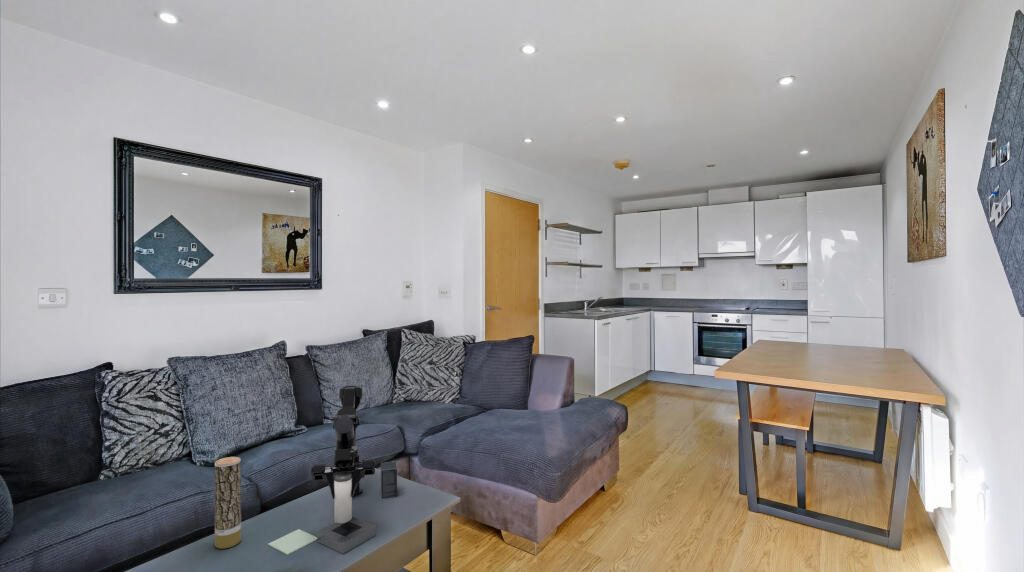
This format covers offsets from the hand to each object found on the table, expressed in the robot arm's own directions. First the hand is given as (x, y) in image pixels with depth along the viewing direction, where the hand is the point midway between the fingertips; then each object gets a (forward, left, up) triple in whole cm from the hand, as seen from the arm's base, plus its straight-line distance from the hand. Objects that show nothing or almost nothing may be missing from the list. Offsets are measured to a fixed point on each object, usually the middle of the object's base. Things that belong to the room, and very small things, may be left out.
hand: (342, 497), depth 142 cm
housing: (0, +2, -13) cm, 14 cm away
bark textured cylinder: (-28, -19, -14) cm, 37 cm away
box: (-13, +31, -14) cm, 36 cm away
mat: (-12, -8, -13) cm, 20 cm away
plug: (-1, +1, -7) cm, 7 cm away
